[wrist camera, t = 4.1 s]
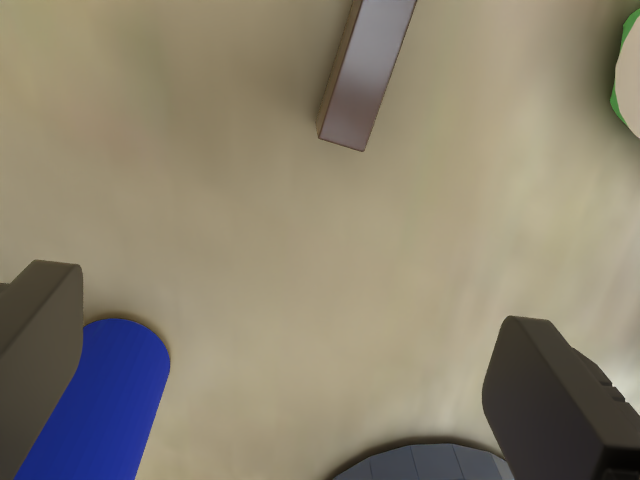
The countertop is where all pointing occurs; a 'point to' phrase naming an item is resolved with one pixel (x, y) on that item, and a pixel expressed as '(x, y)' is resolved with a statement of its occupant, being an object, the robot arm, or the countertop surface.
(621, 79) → the cup
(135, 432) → the beverage can
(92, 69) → the countertop surface
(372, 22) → the stick
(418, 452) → the bowl
